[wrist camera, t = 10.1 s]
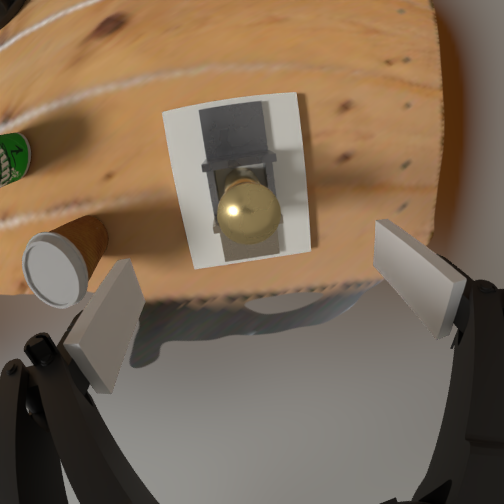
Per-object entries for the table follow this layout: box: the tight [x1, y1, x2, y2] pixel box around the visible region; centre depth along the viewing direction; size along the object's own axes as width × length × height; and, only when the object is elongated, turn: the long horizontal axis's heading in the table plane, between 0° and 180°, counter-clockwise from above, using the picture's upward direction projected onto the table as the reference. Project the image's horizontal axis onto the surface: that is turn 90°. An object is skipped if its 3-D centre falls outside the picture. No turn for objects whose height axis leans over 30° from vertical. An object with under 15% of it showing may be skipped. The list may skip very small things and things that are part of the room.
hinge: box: [199, 101, 284, 262], centre depth 31 cm, size 19×7×6 cm, turn 8°
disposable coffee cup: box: [22, 216, 108, 308], centre depth 30 cm, size 10×10×12 cm
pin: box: [217, 168, 281, 245], centre depth 28 cm, size 5×5×13 cm
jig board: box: [162, 92, 311, 269], centre depth 34 cm, size 21×16×1 cm
